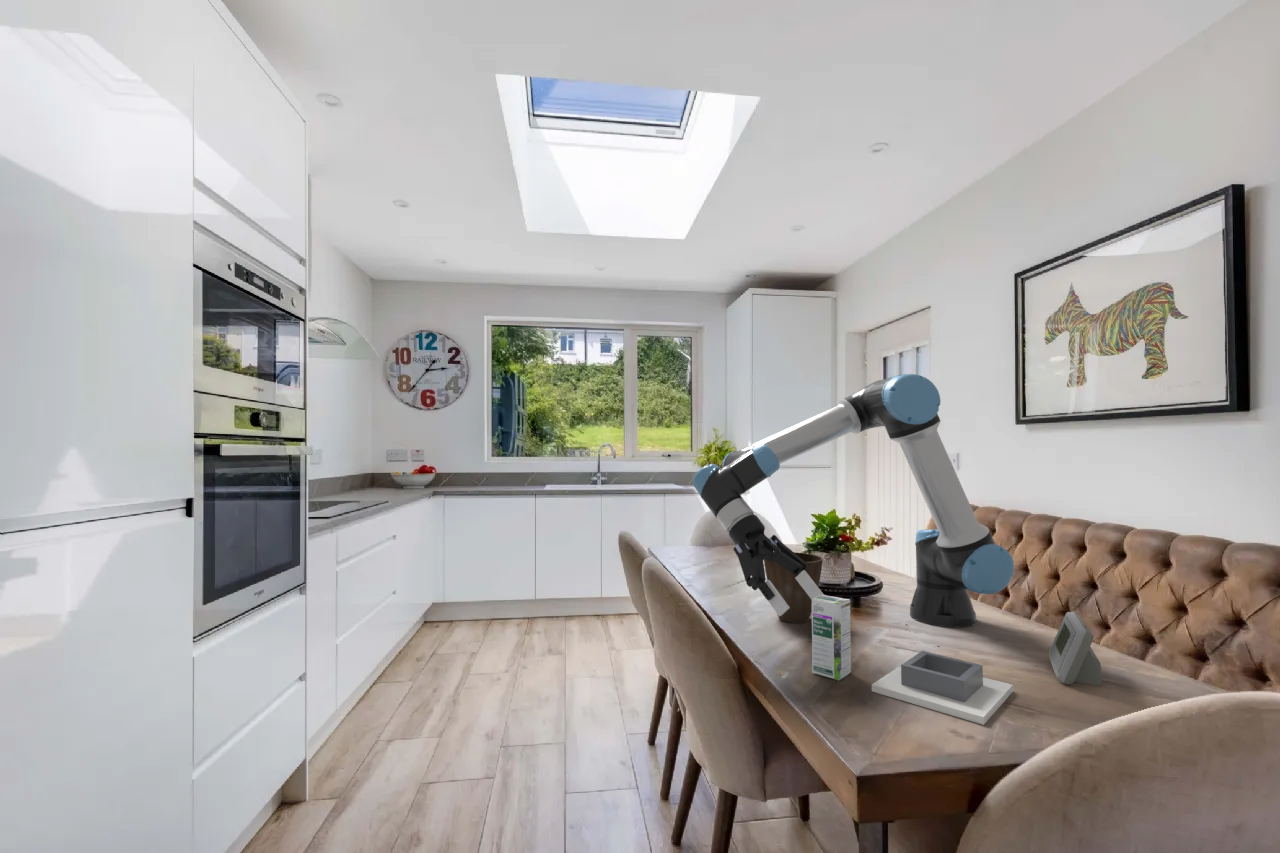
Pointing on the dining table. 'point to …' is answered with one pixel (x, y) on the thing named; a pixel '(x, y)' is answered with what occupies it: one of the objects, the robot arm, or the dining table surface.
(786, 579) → the plant pot
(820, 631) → the syrup box
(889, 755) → the dining table surface
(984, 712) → the socket dock
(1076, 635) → the digital clock
